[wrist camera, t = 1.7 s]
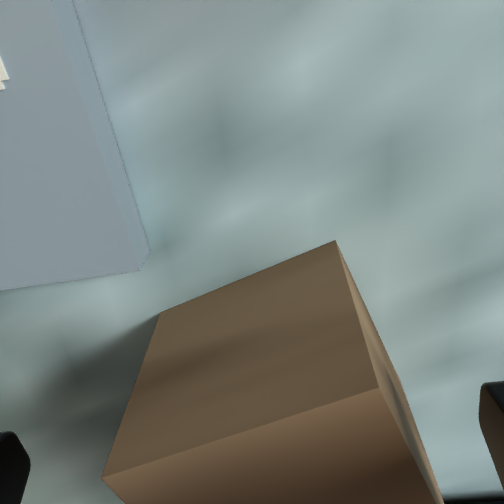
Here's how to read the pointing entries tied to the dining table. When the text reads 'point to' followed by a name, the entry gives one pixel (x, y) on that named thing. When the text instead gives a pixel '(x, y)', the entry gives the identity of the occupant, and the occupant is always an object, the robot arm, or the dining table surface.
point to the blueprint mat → (58, 157)
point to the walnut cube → (271, 400)
